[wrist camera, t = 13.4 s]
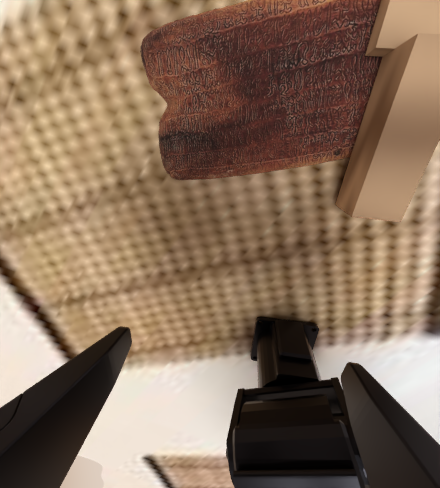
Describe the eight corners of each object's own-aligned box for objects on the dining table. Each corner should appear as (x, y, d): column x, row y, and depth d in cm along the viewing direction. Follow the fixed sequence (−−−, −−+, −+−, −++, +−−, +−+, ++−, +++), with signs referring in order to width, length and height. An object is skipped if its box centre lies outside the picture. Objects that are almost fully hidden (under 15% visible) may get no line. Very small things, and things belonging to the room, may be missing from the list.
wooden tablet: (693, -127, 9) (595, 133, 12) (610, -71, 11) (545, 138, 14) (127, 25, 14) (159, 185, 17) (144, 44, 16) (169, 184, 19)
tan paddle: (389, 210, 16) (417, 223, 14) (321, 203, 17) (335, 214, 14) (562, -184, 9) (698, -328, 6) (433, -180, 9) (508, -312, 7)
